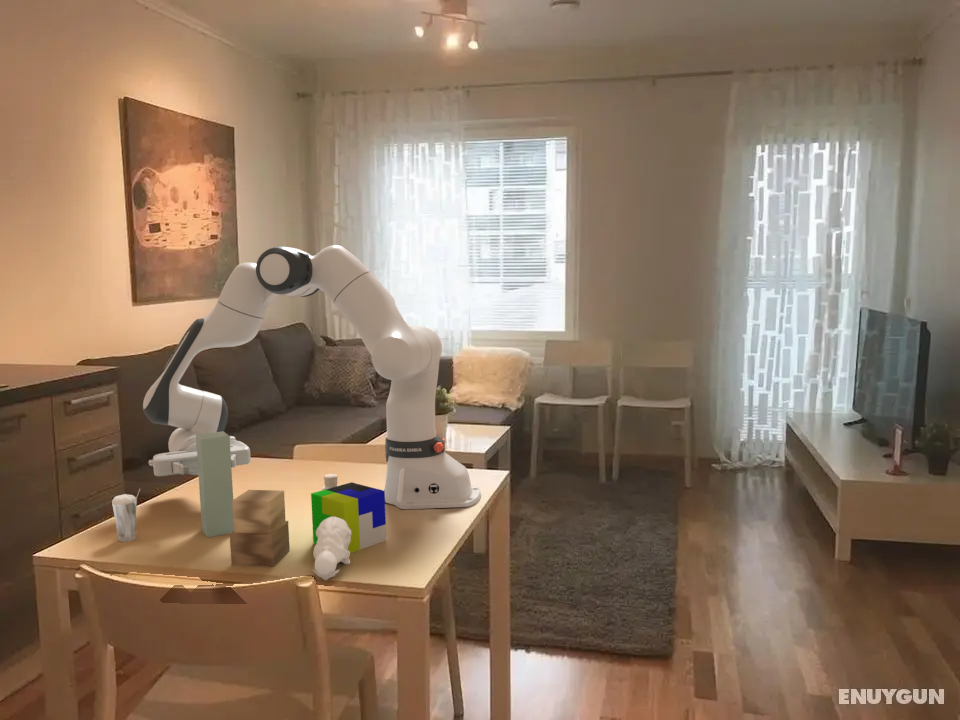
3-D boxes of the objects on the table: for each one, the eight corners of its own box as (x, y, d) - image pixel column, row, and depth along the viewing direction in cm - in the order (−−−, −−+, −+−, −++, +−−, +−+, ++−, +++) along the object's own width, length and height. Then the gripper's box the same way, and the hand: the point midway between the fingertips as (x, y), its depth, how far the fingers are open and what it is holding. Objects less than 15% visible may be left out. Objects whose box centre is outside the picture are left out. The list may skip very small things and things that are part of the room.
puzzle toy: (386, 540, 162) (384, 490, 161) (346, 554, 154) (343, 502, 153) (353, 530, 168) (351, 482, 167) (313, 543, 161) (311, 493, 160)
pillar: (229, 525, 173) (223, 431, 171) (235, 532, 168) (229, 436, 166) (202, 529, 170) (195, 434, 168) (207, 537, 166) (201, 439, 163)
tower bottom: (289, 551, 157) (288, 520, 156) (273, 567, 149) (271, 535, 148) (249, 550, 158) (247, 519, 157) (231, 565, 150) (229, 533, 149)
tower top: (285, 521, 156) (284, 490, 155) (270, 533, 149) (268, 501, 148) (250, 520, 157) (248, 489, 156) (234, 532, 150) (232, 500, 149)
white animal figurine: (351, 512, 151) (340, 541, 139) (354, 555, 153) (343, 587, 141) (317, 513, 151) (302, 541, 139) (320, 556, 153) (306, 588, 141)
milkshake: (145, 539, 165) (141, 491, 164) (116, 544, 162) (112, 495, 161) (142, 533, 169) (138, 485, 168) (113, 538, 166) (109, 489, 165)
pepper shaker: (328, 522, 174) (325, 471, 172) (351, 524, 172) (348, 472, 170) (314, 530, 169) (312, 477, 167) (338, 532, 167) (335, 479, 165)
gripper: (146, 446, 181) (155, 459, 169) (240, 435, 191) (255, 446, 179) (148, 474, 182) (157, 489, 170) (242, 461, 191) (257, 474, 179)
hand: (208, 467), depth 174 cm, fingers open, 8 cm apart
